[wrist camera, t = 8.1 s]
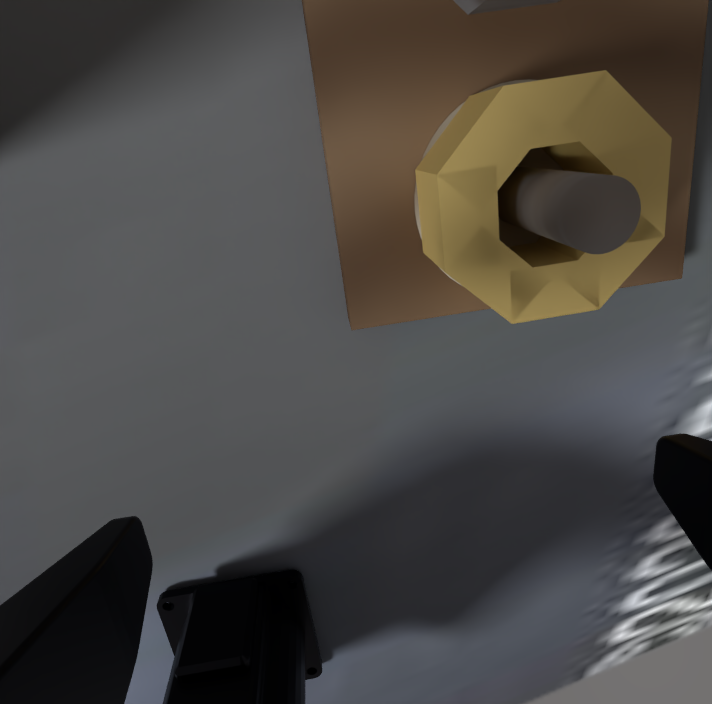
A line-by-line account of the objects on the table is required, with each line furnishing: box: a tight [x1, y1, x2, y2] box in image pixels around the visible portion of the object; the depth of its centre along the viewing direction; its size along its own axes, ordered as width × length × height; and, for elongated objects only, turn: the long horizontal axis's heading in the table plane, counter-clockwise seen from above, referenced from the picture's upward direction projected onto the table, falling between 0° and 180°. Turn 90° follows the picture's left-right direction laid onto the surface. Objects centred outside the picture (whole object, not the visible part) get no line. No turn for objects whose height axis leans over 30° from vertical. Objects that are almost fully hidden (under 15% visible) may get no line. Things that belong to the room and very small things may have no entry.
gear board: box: [302, 0, 709, 330], centre depth 14 cm, size 16×12×7 cm
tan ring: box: [415, 70, 672, 324], centre depth 16 cm, size 6×6×3 cm
